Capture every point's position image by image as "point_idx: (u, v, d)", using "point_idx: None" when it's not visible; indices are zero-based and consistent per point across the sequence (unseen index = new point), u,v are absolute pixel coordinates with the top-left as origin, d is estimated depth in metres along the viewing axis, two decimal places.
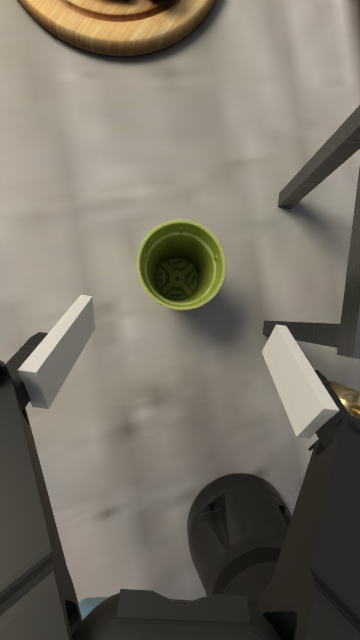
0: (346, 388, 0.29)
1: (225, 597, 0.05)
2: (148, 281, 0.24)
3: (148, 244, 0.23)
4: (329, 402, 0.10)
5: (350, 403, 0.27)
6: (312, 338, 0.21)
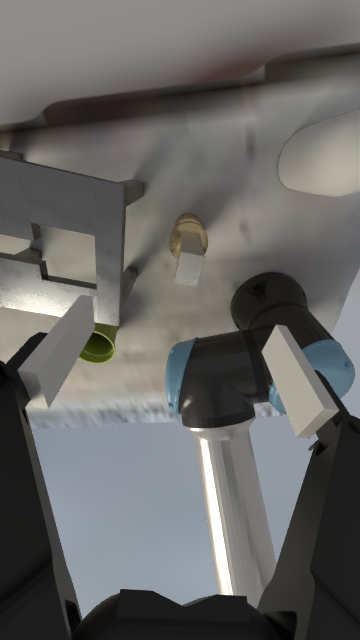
0: None
1: (225, 597, 0.05)
2: (104, 354, 0.48)
3: (85, 356, 0.47)
4: (329, 402, 0.10)
5: None
6: None
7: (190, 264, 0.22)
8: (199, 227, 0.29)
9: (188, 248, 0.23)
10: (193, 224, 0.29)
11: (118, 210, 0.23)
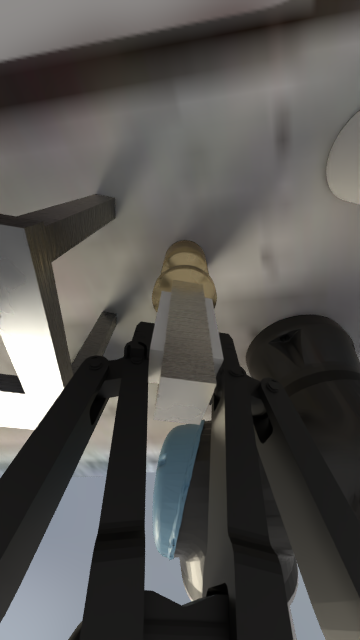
0: None
1: (225, 597, 0.05)
2: None
3: None
4: (217, 353, 0.12)
5: None
6: None
7: (184, 395, 0.10)
8: (201, 276, 0.17)
9: (179, 355, 0.11)
10: (191, 272, 0.17)
11: (27, 277, 0.11)
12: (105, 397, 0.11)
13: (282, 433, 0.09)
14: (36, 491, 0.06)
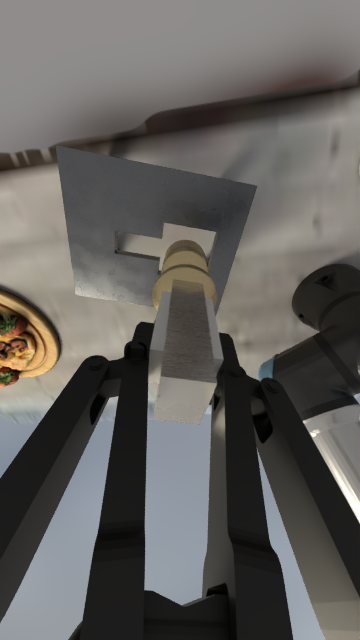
0: None
1: (225, 597, 0.05)
2: None
3: None
4: (217, 353, 0.12)
5: None
6: None
7: (184, 395, 0.10)
8: (202, 275, 0.17)
9: (179, 355, 0.10)
10: (191, 271, 0.17)
11: (246, 208, 0.25)
12: (105, 397, 0.11)
13: (282, 433, 0.09)
14: (36, 491, 0.06)
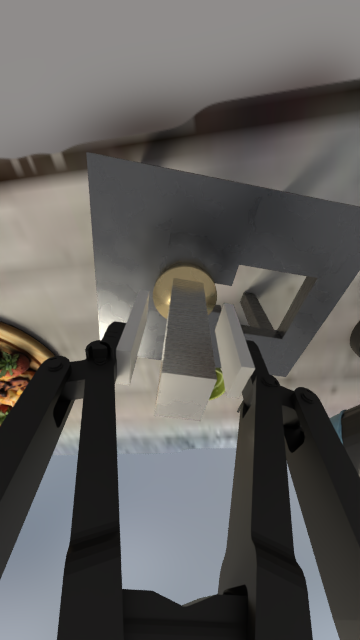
0: None
1: (225, 597, 0.05)
2: None
3: None
4: (248, 362, 0.11)
5: None
6: None
7: (185, 391, 0.10)
8: (202, 274, 0.17)
9: (180, 352, 0.11)
10: (191, 270, 0.17)
11: None
12: (69, 400, 0.10)
13: (314, 443, 0.09)
14: None
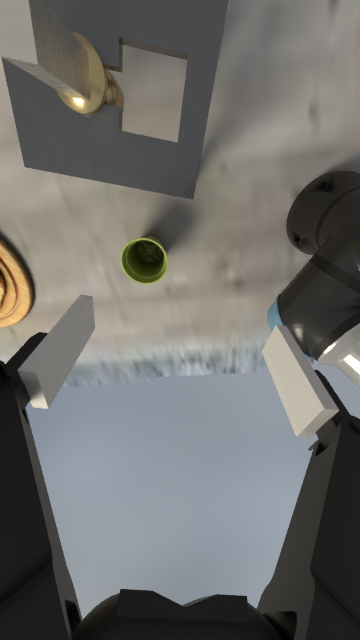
0: None
1: (225, 597, 0.05)
2: (153, 276, 0.46)
3: (134, 277, 0.45)
4: (329, 402, 0.10)
5: None
6: None
7: (9, 4, 0.13)
8: (84, 40, 0.21)
9: None
10: (75, 34, 0.20)
11: (221, 9, 0.20)
12: None
13: None
14: None
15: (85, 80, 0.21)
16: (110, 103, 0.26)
